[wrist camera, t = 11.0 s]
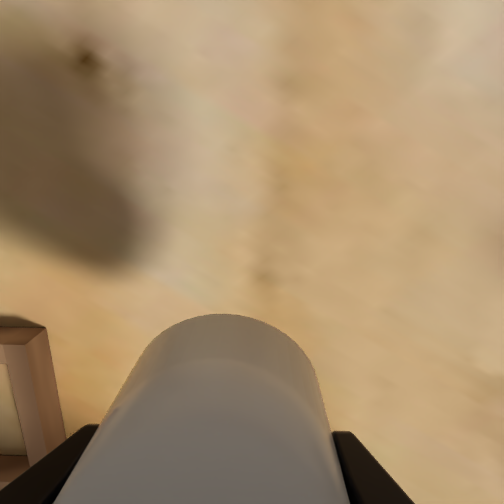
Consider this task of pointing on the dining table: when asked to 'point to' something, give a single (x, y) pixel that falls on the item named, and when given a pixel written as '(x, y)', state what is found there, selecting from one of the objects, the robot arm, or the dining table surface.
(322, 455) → the salt cellar
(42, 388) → the walnut caddy
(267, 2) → the dining table surface
